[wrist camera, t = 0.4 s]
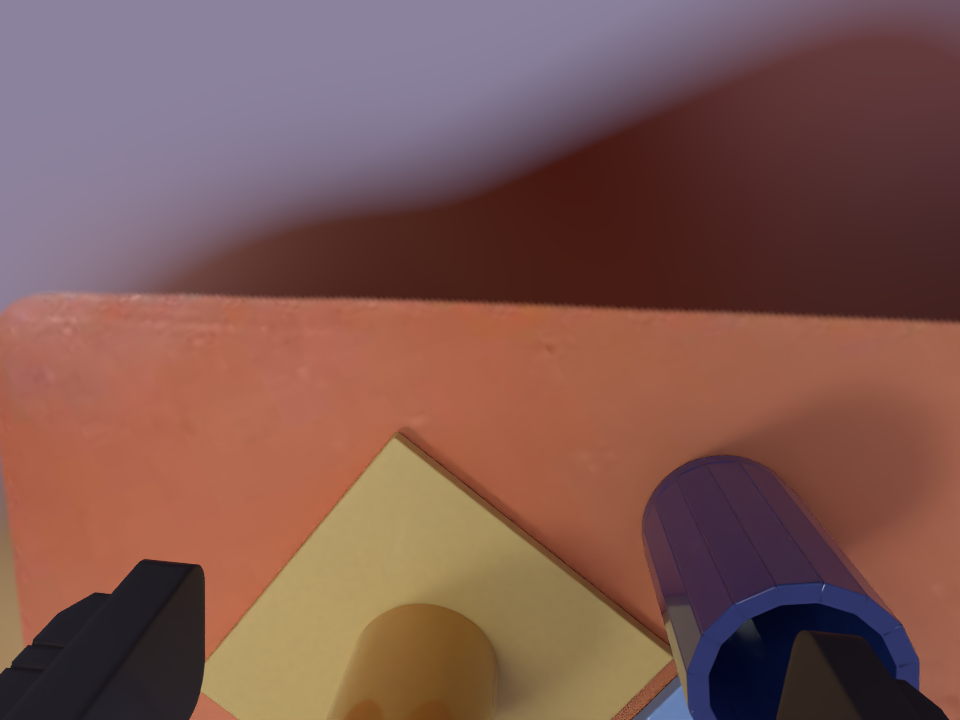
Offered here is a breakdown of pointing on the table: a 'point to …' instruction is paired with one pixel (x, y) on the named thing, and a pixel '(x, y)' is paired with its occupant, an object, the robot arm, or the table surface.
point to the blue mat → (667, 704)
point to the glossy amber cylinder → (419, 669)
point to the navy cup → (752, 586)
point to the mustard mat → (436, 581)
